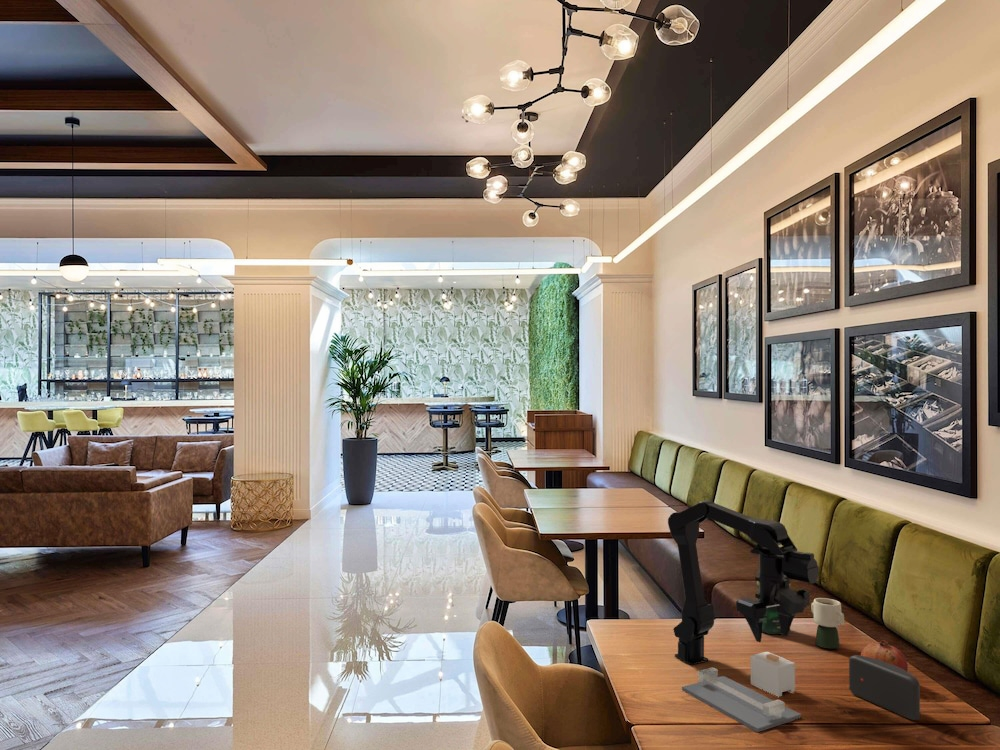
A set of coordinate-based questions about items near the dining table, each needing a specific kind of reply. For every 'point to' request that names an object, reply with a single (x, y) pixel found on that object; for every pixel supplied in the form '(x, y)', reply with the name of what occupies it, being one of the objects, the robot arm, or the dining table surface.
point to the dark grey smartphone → (885, 685)
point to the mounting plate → (738, 705)
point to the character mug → (827, 621)
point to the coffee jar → (771, 617)
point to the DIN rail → (741, 696)
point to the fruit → (885, 654)
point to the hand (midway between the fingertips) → (771, 638)
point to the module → (772, 673)
